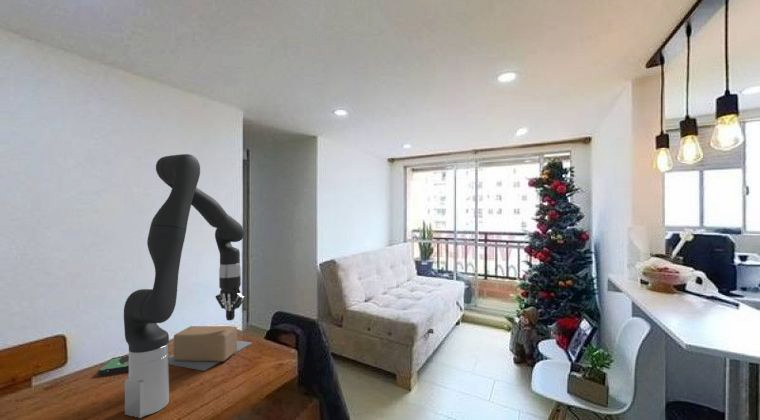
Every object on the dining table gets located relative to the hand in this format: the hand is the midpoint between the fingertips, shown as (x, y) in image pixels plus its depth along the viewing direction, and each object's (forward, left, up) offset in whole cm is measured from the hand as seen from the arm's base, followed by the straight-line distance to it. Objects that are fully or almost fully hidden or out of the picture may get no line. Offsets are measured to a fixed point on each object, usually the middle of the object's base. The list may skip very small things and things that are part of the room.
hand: (230, 319), depth 121 cm
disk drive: (-17, +30, -15) cm, 37 cm away
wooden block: (-1, -2, -8) cm, 9 cm away
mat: (0, +11, -14) cm, 18 cm away
